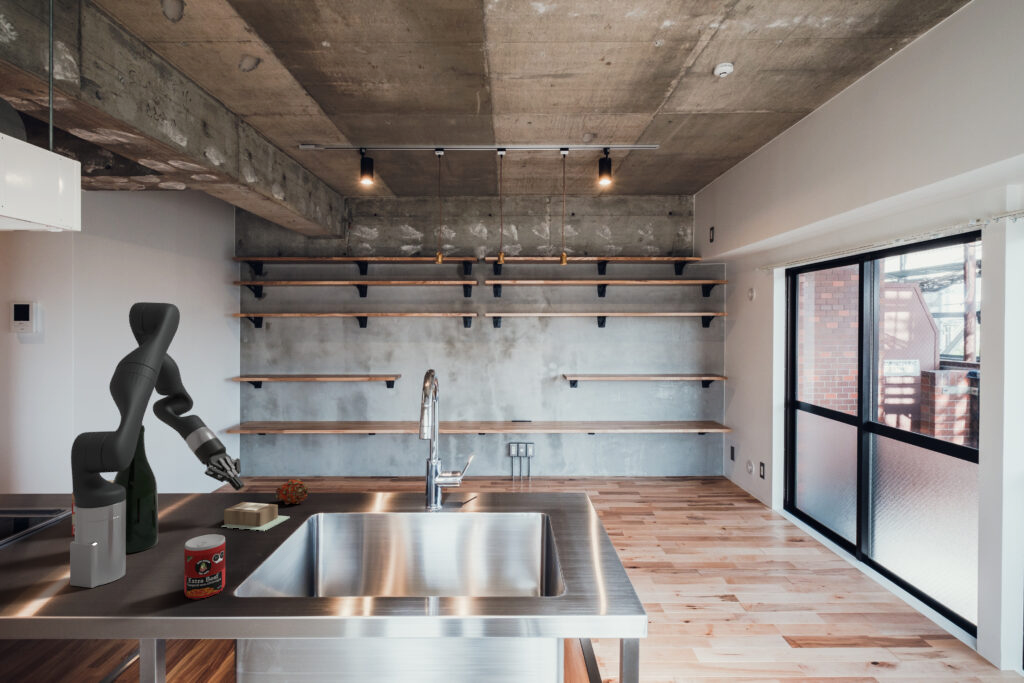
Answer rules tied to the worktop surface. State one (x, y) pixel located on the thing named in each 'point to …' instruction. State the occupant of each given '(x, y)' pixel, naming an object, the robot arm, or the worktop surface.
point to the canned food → (204, 566)
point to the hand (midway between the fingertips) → (240, 488)
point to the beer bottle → (140, 500)
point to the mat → (262, 528)
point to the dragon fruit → (292, 487)
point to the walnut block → (251, 514)
